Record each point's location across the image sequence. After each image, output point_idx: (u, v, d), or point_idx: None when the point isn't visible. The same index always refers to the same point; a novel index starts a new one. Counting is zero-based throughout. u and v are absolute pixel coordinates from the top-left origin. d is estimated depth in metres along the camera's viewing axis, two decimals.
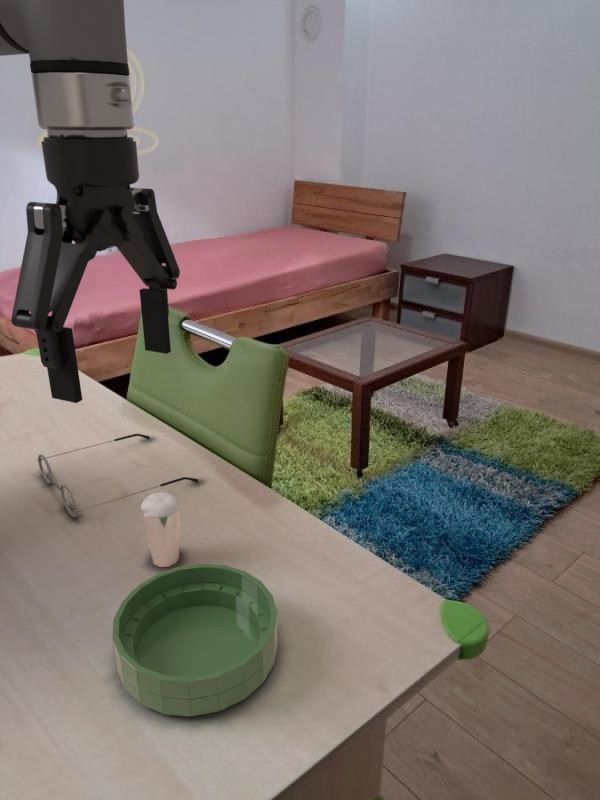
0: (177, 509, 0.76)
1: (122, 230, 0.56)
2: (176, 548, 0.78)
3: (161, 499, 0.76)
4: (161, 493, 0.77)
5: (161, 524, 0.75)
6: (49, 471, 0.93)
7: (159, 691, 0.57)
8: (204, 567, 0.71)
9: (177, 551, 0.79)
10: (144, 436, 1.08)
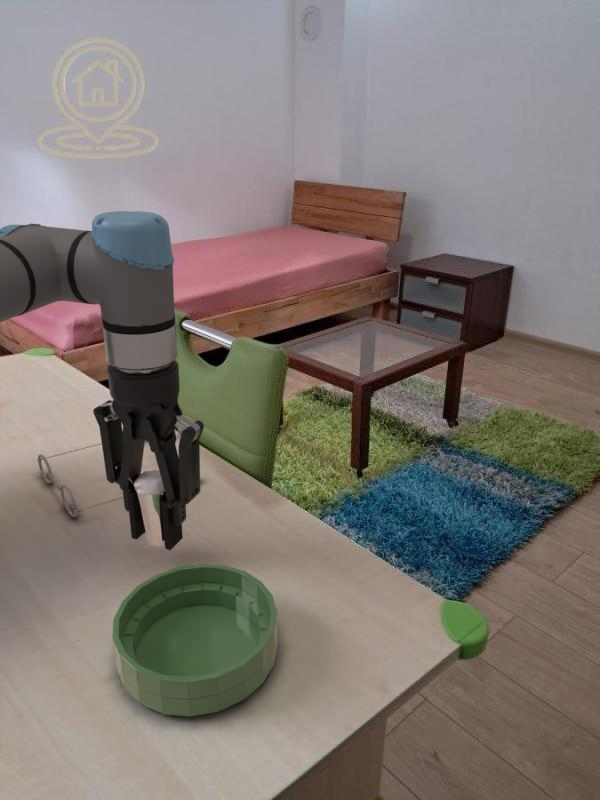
0: None
1: None
2: None
3: (154, 476, 0.75)
4: (154, 470, 0.76)
5: (154, 501, 0.74)
6: (49, 471, 0.93)
7: (159, 691, 0.57)
8: (204, 567, 0.71)
9: None
10: None
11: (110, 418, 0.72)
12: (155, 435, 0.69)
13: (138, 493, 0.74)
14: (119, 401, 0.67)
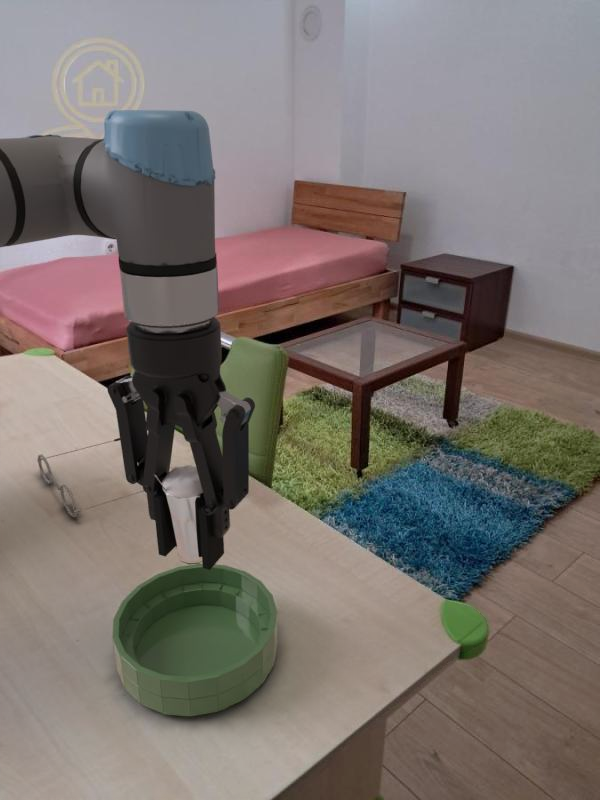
0: None
1: None
2: None
3: (188, 473, 0.57)
4: (187, 466, 0.58)
5: (189, 506, 0.56)
6: (49, 471, 0.93)
7: (159, 691, 0.57)
8: None
9: None
10: None
11: (130, 398, 0.55)
12: (191, 417, 0.52)
13: (168, 496, 0.56)
14: (143, 372, 0.50)
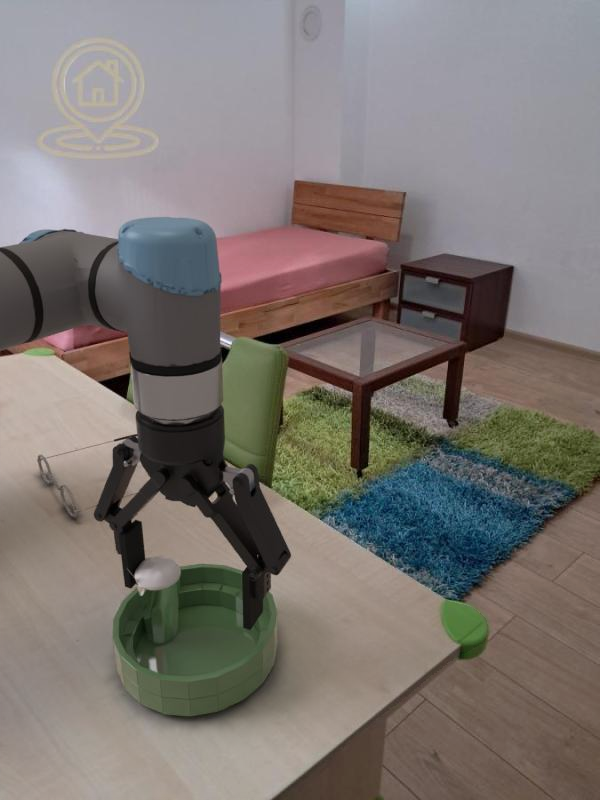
0: (177, 579, 0.63)
1: None
2: (174, 622, 0.66)
3: (159, 566, 0.64)
4: (159, 558, 0.65)
5: (157, 597, 0.63)
6: (49, 471, 0.93)
7: (159, 691, 0.57)
8: (204, 567, 0.71)
9: (175, 625, 0.66)
10: None
11: (131, 463, 0.58)
12: (200, 493, 0.55)
13: (139, 586, 0.63)
14: (151, 458, 0.53)
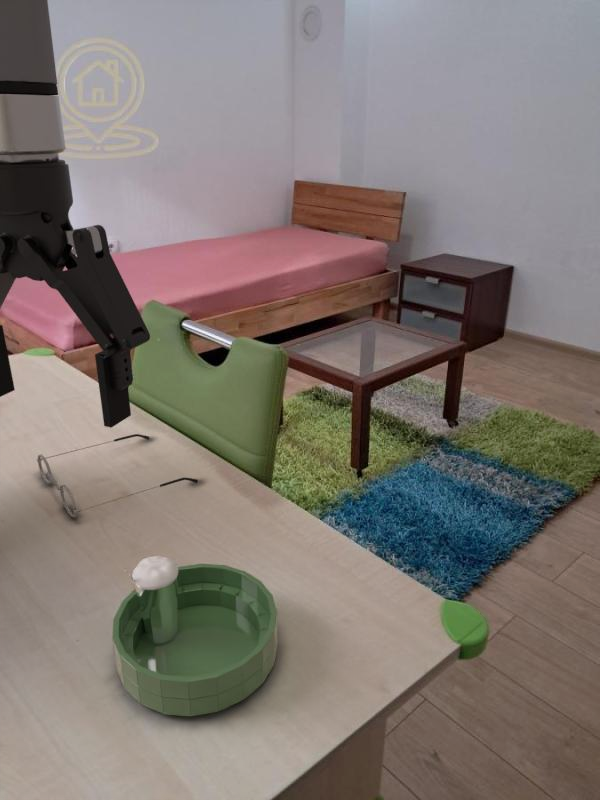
0: (175, 578, 0.63)
1: None
2: (174, 622, 0.66)
3: (156, 565, 0.64)
4: (157, 557, 0.65)
5: (155, 597, 0.63)
6: (49, 471, 0.93)
7: (159, 691, 0.57)
8: (204, 567, 0.71)
9: (175, 625, 0.66)
10: (144, 436, 1.08)
11: None
12: (41, 257, 0.49)
13: (136, 586, 0.63)
14: None
